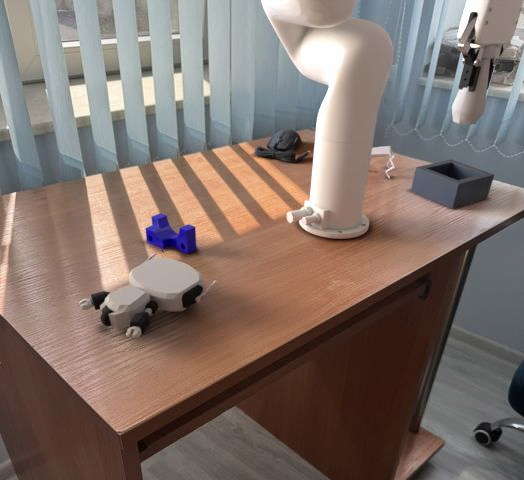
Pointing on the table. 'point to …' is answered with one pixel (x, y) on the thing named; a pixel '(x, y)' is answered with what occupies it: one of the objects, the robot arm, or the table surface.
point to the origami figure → (384, 155)
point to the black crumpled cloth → (282, 146)
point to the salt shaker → (474, 93)
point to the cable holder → (170, 235)
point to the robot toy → (149, 294)
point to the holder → (452, 183)
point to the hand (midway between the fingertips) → (473, 88)
